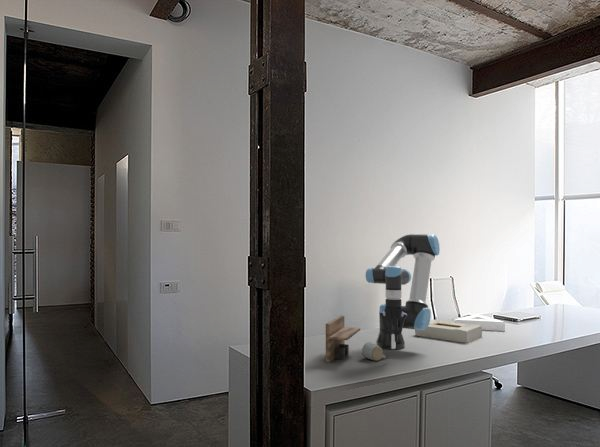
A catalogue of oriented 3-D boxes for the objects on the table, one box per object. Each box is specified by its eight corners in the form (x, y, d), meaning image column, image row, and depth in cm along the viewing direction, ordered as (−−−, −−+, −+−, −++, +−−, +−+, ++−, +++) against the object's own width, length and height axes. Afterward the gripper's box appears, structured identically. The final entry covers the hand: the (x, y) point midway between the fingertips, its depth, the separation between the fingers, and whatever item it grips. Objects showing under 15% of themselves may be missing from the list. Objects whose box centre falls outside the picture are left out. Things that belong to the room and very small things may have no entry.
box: (414, 336, 288) (467, 343, 267) (414, 323, 288) (467, 329, 267) (431, 331, 305) (482, 337, 285) (431, 319, 306) (482, 324, 285)
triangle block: (454, 329, 309) (454, 319, 310) (454, 322, 334) (454, 313, 334) (504, 332, 300) (504, 321, 300) (501, 324, 325) (500, 315, 325)
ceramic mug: (372, 362, 227) (372, 346, 227) (361, 358, 234) (361, 342, 234) (389, 359, 233) (389, 343, 233) (378, 356, 240) (378, 340, 240)
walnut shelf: (360, 351, 249) (360, 316, 249) (347, 364, 224) (347, 325, 225) (340, 349, 252) (340, 315, 253) (325, 362, 228) (325, 323, 228)
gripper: (378, 298, 229) (378, 348, 228) (406, 300, 224) (406, 351, 223) (381, 297, 236) (381, 345, 235) (408, 298, 231) (408, 347, 230)
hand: (393, 348), depth 229 cm, fingers closed
